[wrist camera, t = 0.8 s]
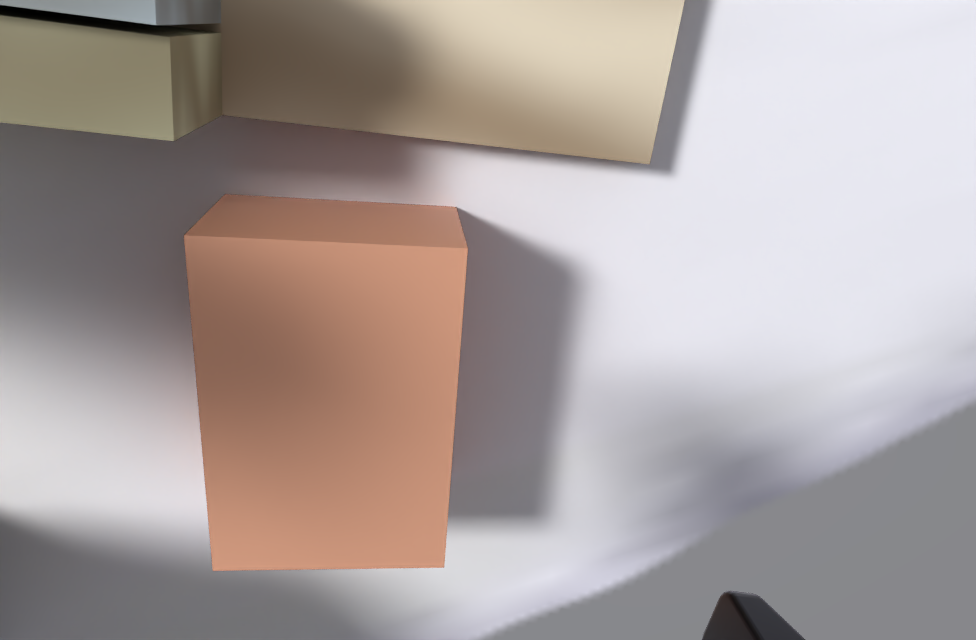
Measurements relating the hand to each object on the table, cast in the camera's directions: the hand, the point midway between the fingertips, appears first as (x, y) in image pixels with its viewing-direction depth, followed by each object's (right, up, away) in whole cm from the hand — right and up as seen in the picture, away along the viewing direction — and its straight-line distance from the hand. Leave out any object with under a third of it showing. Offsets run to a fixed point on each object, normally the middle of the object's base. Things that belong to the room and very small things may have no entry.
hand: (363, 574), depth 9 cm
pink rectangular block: (-3, +2, +12) cm, 13 cm away
